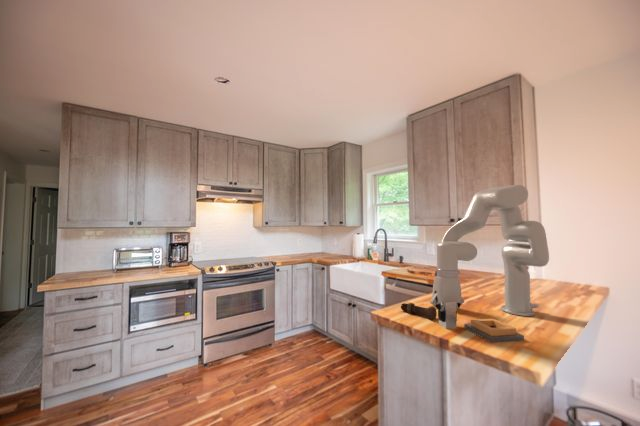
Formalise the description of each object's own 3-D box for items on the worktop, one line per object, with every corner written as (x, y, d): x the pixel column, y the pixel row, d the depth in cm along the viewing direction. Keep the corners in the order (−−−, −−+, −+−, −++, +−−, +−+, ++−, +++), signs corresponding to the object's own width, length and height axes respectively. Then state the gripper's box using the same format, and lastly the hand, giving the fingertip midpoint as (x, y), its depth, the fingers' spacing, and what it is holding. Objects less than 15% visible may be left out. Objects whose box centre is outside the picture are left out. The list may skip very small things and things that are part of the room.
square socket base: (493, 325, 106) (493, 316, 106) (524, 340, 93) (523, 329, 93) (464, 327, 103) (464, 318, 104) (491, 342, 91) (491, 332, 91)
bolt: (403, 314, 124) (435, 322, 113) (397, 310, 121) (429, 318, 110) (406, 302, 126) (437, 309, 115) (401, 298, 123) (432, 305, 112)
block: (448, 323, 108) (448, 298, 108) (456, 327, 103) (456, 301, 104) (439, 324, 107) (438, 299, 107) (446, 328, 102) (445, 302, 103)
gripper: (459, 271, 111) (459, 316, 110) (422, 272, 108) (422, 318, 107) (472, 275, 104) (473, 322, 103) (433, 276, 101) (433, 325, 100)
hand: (447, 319), depth 105 cm, fingers closed on block, 4 cm apart
